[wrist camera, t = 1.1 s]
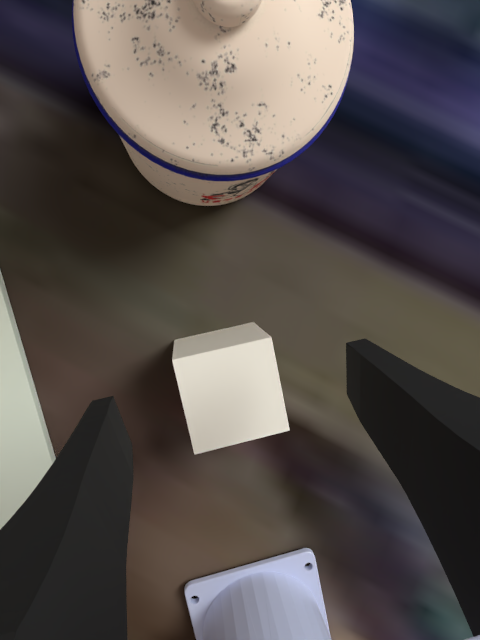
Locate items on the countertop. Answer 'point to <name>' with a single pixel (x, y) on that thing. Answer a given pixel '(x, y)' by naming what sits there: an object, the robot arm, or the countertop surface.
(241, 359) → the cream block
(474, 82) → the countertop surface
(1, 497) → the plate
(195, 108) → the teacup with lid
